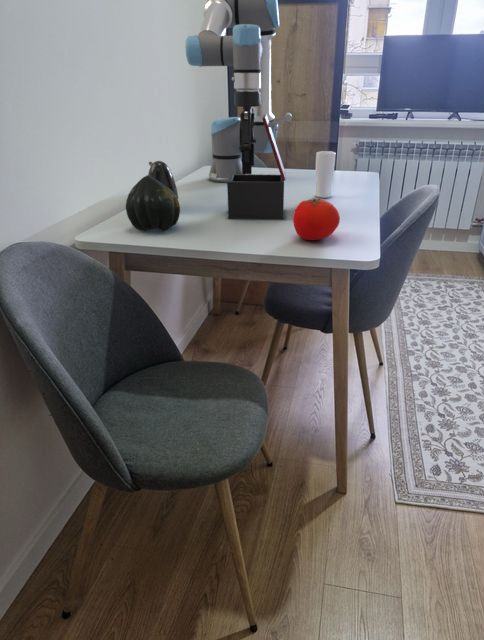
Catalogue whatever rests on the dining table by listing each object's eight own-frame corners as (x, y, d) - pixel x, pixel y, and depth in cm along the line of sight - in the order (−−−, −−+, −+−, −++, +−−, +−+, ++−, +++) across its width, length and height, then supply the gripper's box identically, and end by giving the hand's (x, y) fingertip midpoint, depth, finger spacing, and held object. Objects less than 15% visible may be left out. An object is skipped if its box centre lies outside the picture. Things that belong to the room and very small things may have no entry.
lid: (262, 118, 132) (289, 107, 131) (263, 115, 143) (288, 105, 141) (282, 181, 141) (308, 171, 139) (282, 173, 151) (306, 164, 149)
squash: (159, 220, 125) (171, 169, 128) (110, 218, 130) (122, 168, 132) (181, 243, 139) (191, 196, 142) (136, 240, 143) (146, 195, 146)
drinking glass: (331, 199, 169) (335, 154, 162) (312, 198, 170) (315, 153, 163) (333, 194, 175) (336, 151, 167) (314, 194, 176) (317, 150, 168)
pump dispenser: (167, 204, 163) (162, 156, 155) (185, 209, 156) (181, 160, 148) (141, 209, 156) (135, 160, 149) (159, 215, 150) (153, 164, 142)
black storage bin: (228, 218, 147) (227, 181, 141) (232, 209, 157) (230, 174, 152) (283, 219, 147) (284, 182, 141) (283, 209, 157) (284, 174, 151)
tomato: (304, 229, 138) (306, 191, 132) (344, 235, 132) (348, 196, 127) (282, 241, 128) (283, 201, 122) (325, 249, 122) (327, 207, 117)
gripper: (237, 88, 145) (239, 162, 156) (229, 92, 124) (232, 177, 135) (262, 88, 145) (262, 162, 156) (258, 92, 124) (258, 177, 134)
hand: (248, 169), depth 145 cm, fingers open, 13 cm apart
